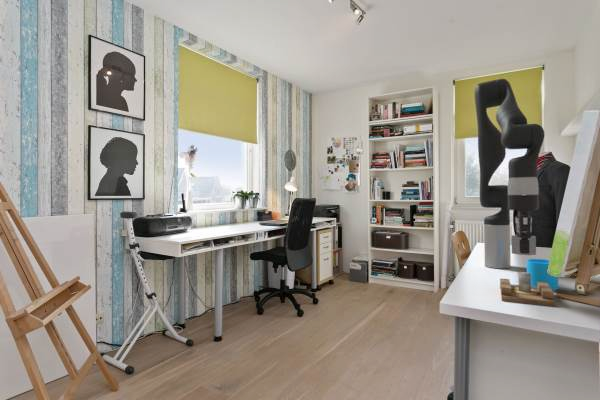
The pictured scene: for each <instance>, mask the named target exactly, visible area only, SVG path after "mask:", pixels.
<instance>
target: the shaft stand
mask: <svg viewBox="0 0 600 400" xmlns="http://www.w3.org/2000/svg"><path fill="white" fill-rule="evenodd" d="M517 278H518V284H511V282H510V279H509V278H499V282H500V284H499V288H500V297H501V301H502V302H508V303H520V304H526V305H527V304H530V305H538V306H549V307H555V306H556V301H555V300H554V299H555V295H554V290H552V289H551V288H550V286H549V285H548V283H547V282H537V287H535V286H531V274H530V273H527V272H524V271H523V272H518V277H517Z"/></svg>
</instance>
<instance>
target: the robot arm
mask: <svg viewBox="0 0 600 400" xmlns="http://www.w3.org/2000/svg"><path fill="white" fill-rule="evenodd" d="M474 104H475V113H476V122H477V149H478V150H477V151H478V153H477V154H478V163H479V202H480V206H481V207H482V208H488V209H490V208H491V209H493V208H494V209H495V208H498V209H500V210H499V211H498V212H497V213H494V214H491V215H487V216H486V217H484V219H483V224H484V225H483V228H484V229H483V233H484V235H483V238H484V239H483V240H484V246H483V247H484V266H485V267H488V268H491V269H510V268H511V267H512V266H511V262H512V261H511V260H512V259H511V217H510V215H511V213H510V211H517V214H516V215H515V216H514V222H515V231H516V235H519V239H520V253H524V254H528V253H529V240H530V238H531V236H532V235H531V233H532V230H533V229H532V222H533V217H532V216H530V211H537V210H539V208H540V205H539V204H540V200H539V199H540V198H539V181H538V161H539V156H540V153H541V149H542V146H543V143H544V140H545V130H544V127H543V126H542V125H541V124H539V123H528V119H527V117H526V116H525V114H524V113H523V112H522V110H521V109H520V106H519V105H518V103H517V100H516V96H515V93H514V91H513V88H512V86H511V83H510V82H509V81H508V79H506V78H499V79H493V80H487V81H483V82H480V83H477V84H476V85H475V88H474ZM495 107H498V108H497V110H496V113H495V119H496V122H497V124H498V126H499V128H500V129H498V128H497V127H496V125H495V124H494V123H493V122H492V120H491V119H490V117H489V116H488V112H487V110H488V109H490V108H495ZM500 130H501V131H500ZM506 149H507V150H526V152H525V154H524V155H522V156H518V157H513V158H510V159H509V160H508V166H507V167H508V180H507V185H506V184H499V185H498V184H492V185H489V183H490V182H491V181H490V180H491V179H492V177H493V175H494V174H495V173H496V171H497V170H498V169H499V167H500V166H501V165H502V163H503V161H504V160H505V159H506V155H507V154H506V152H507V151H506Z"/></svg>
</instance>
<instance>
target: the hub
mask: <svg viewBox="0 0 600 400" xmlns="http://www.w3.org/2000/svg"><path fill="white" fill-rule="evenodd" d="M510 243H511V254H514V255H518V256H521V255H522V256H534V255H535V256H536V255H537V237H536V235H531V238H530V240H529V253H528V254H524V253H520V239H519V235H517V234H512V235H511V234H510Z"/></svg>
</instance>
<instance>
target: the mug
mask: <svg viewBox="0 0 600 400" xmlns="http://www.w3.org/2000/svg"><path fill="white" fill-rule="evenodd" d="M549 260H550V259H543V258H528V259H527V260H526V273H530V274H531V286H535V287H537V282H547V283H548V285H549V286H550V288H551V289H552V291H556V289H558V290H559V286H560V285H559V276H558V277H554V276H551V275H549V274H548V273H547V269H548V265H549Z"/></svg>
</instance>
